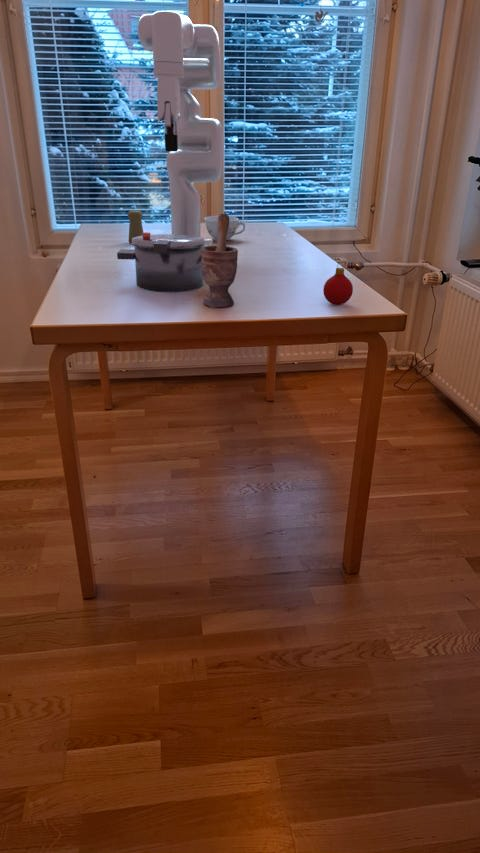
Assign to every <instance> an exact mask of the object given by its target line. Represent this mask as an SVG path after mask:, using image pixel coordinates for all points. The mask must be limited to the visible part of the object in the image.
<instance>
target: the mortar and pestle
mask: <svg viewBox="0 0 480 853" xmlns="http://www.w3.org/2000/svg"><path fill="white" fill-rule="evenodd" d="M218 216H219V217H218V222H217V234H218V238H217V241H216V245H205V246H203V247H202V248H201V269H202V275H203V283H205V285H207V286H208V288H209V291H208V293H207V294H205V296H204V297H203V304H204V305H206V306H207V307H209V308H212V309H214V308H227V307H231V306H233V305H234V304H235V303H234V302H235V301H234V299H233V297H232V294H230V292H229V288H230V286H231V285H232V284H233V283H234V282H235V278H236V274H237V271H238V254H239V251H238V248H236V247H231V246H227V241H226V237H227V233H228V228H229V216H230V215H228V214H226V213H220V214H219V215H218Z"/></svg>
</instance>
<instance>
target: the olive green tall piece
mask: <svg viewBox="0 0 480 853" xmlns="http://www.w3.org/2000/svg"><path fill="white" fill-rule="evenodd" d="M143 216H144V215H143V212H142V211H141V210H138V209H133V210H129V211H128V212H127V219H128V220H129V227H128V242H129V243H128V244H130V243H132V238H134V237H137V236H143V233H144V228H143V223H142V220H143Z"/></svg>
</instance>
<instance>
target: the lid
mask: <svg viewBox="0 0 480 853" xmlns="http://www.w3.org/2000/svg"><path fill="white" fill-rule="evenodd" d="M205 240H206V239H205V238H204V237H202V236H200V237H197V236H190V235H175V234H172V233H171V234H168V233H167V234H165V233H164V234H162V233H161V234H151V232H145V231H143V236H137V237H134V238H132V244H131V245H132V246H133V247H134V246H137V247H142V248H150V249H154V252H167V251H168V250H169V249H189V248H197V247H201V246H203V247H205V246H206V245H205ZM204 245H205V246H204Z"/></svg>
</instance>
